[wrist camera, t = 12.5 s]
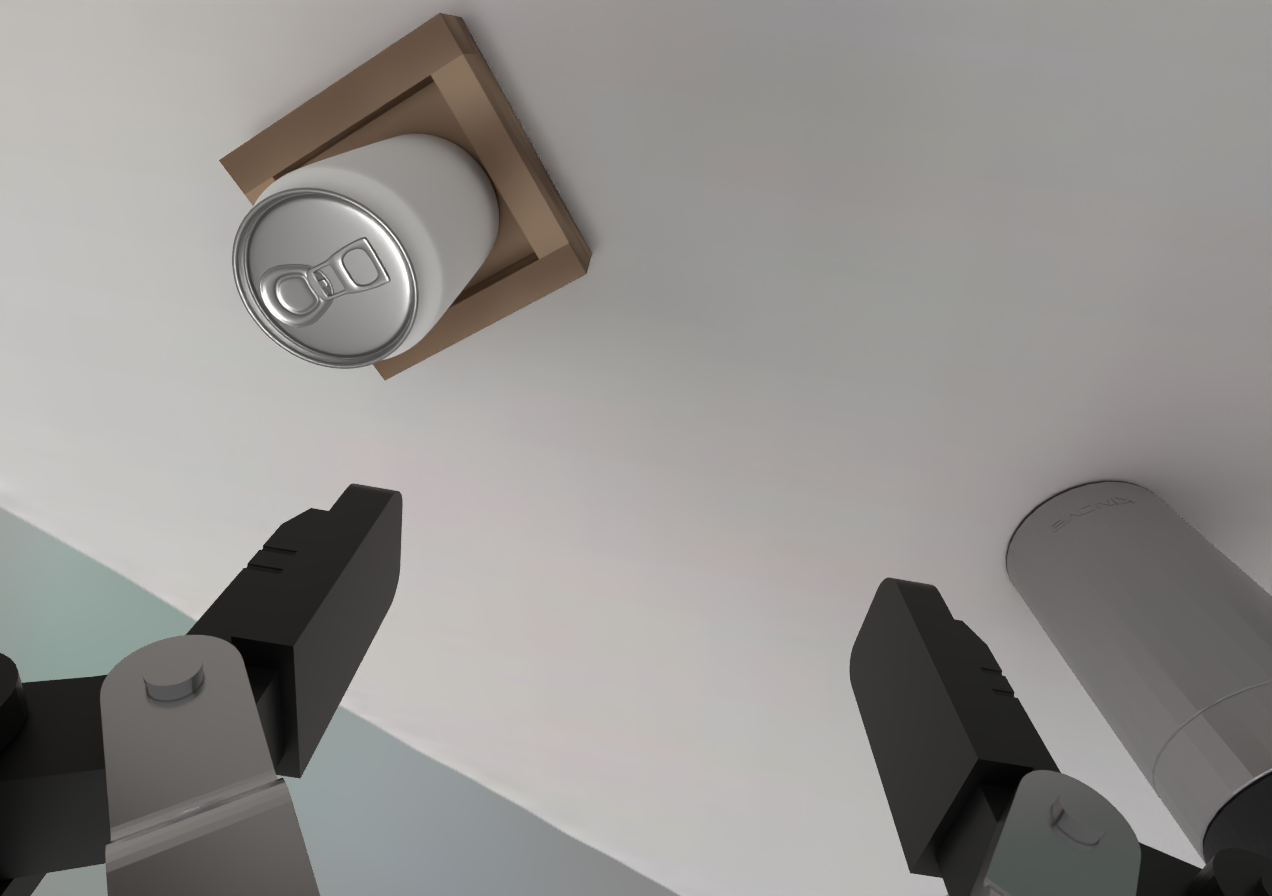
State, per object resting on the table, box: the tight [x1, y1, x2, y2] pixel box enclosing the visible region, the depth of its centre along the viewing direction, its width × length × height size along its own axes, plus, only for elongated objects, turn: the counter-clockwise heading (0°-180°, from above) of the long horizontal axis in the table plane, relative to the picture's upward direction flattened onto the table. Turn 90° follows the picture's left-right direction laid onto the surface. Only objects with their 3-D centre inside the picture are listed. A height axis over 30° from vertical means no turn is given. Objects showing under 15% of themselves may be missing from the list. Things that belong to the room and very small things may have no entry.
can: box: [232, 134, 499, 369], centre depth 27 cm, size 6×6×12 cm
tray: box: [219, 13, 592, 380], centre depth 32 cm, size 11×11×4 cm
